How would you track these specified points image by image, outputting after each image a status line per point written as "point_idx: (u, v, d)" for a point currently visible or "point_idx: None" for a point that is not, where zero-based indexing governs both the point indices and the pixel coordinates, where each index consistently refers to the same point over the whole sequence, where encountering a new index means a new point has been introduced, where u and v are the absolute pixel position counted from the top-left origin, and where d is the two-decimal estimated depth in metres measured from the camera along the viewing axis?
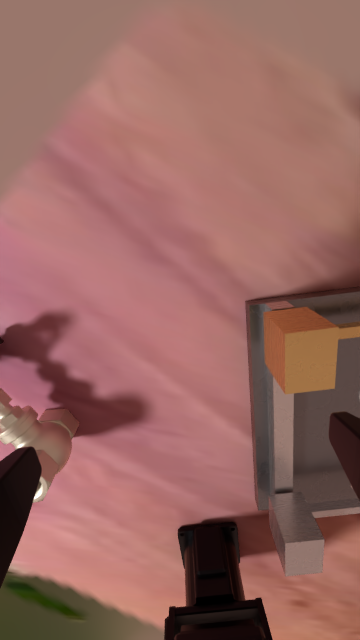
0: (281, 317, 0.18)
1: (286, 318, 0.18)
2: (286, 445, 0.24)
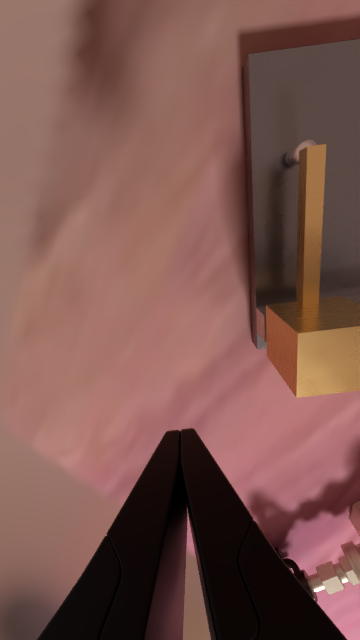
0: (275, 355, 0.14)
1: (277, 354, 0.14)
2: None
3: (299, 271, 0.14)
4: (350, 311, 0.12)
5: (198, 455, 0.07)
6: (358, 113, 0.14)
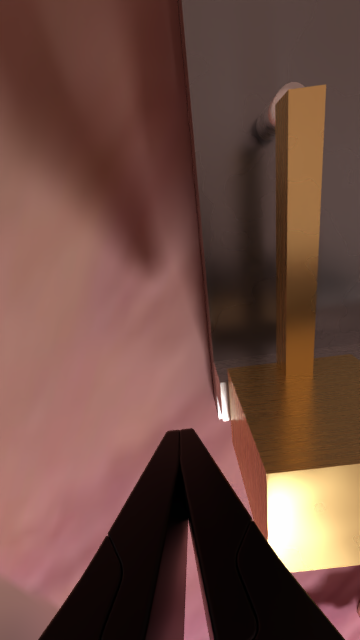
0: (240, 457, 0.08)
1: (242, 459, 0.08)
2: None
3: (280, 317, 0.08)
4: None
5: (197, 455, 0.07)
6: None
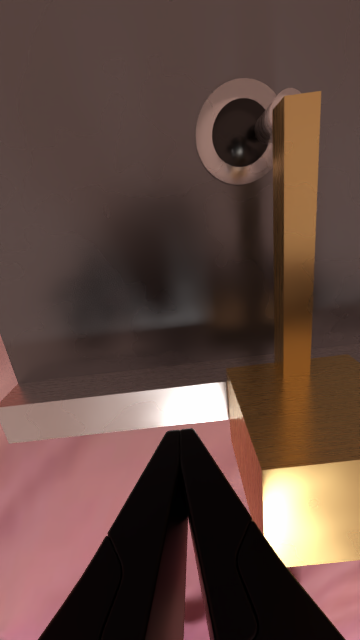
0: (238, 455, 0.09)
1: (240, 457, 0.08)
2: None
3: (278, 317, 0.08)
4: None
5: (197, 455, 0.07)
6: (96, 91, 0.08)
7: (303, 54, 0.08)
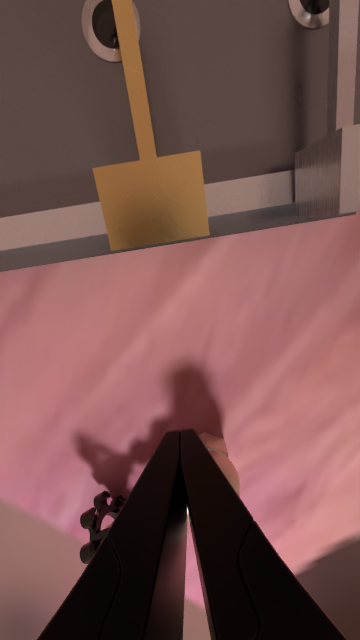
0: None
1: None
2: None
3: (136, 137, 0.13)
4: None
5: (198, 455, 0.07)
6: None
7: None
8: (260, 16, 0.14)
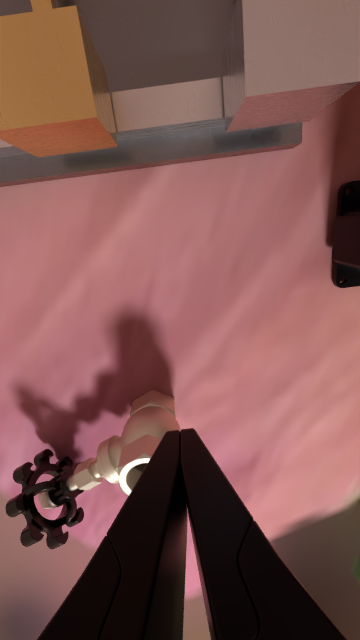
0: None
1: None
2: (114, 106, 0.13)
3: None
4: None
5: (198, 455, 0.07)
6: None
7: None
8: None
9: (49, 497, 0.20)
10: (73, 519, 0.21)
